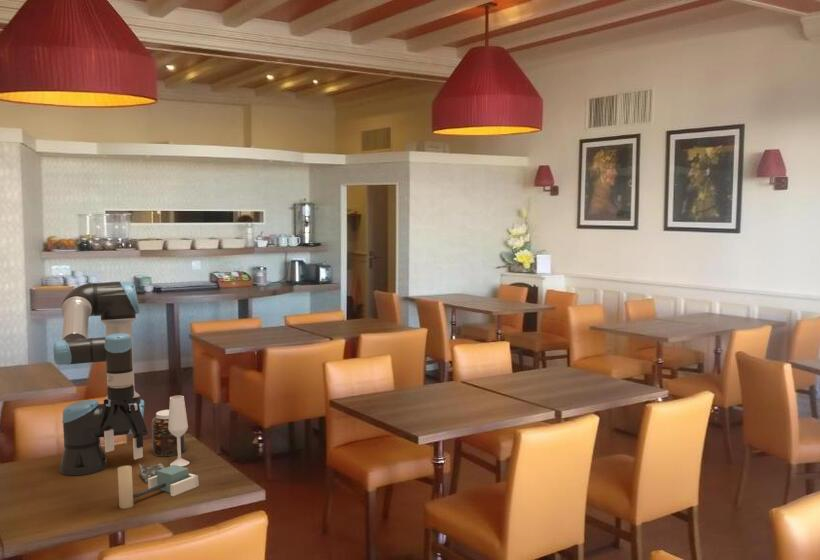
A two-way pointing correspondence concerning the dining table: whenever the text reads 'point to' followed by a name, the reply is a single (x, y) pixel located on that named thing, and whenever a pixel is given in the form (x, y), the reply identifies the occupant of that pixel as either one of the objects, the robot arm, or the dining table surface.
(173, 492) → the white u-shaped bracket
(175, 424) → the champagne flute
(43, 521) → the dining table surface
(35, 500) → the dining table surface
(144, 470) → the egg carton
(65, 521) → the dining table surface
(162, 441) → the jar
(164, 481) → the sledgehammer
